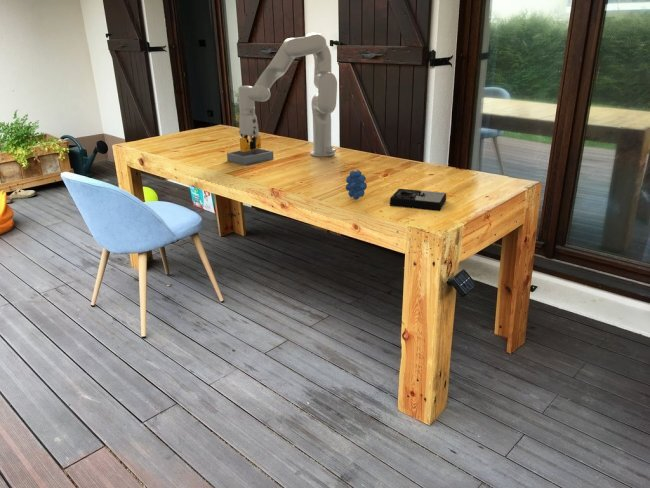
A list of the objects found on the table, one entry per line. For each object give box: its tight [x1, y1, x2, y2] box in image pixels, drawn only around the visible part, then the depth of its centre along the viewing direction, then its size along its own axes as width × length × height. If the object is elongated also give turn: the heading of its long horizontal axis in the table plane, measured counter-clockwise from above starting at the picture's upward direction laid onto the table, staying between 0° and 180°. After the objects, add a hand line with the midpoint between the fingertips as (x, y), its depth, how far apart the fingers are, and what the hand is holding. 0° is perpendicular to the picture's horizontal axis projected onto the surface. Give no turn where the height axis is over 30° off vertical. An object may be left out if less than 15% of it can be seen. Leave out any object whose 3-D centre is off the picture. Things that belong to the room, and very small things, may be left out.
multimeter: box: [389, 188, 447, 212], centre depth 202 cm, size 13×19×5 cm
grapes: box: [345, 169, 368, 200], centre depth 207 cm, size 12×7×12 cm, turn 37°
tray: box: [226, 148, 274, 166], centre depth 271 cm, size 15×18×4 cm
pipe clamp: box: [239, 134, 262, 152], centre depth 268 cm, size 12×4×6 cm, turn 143°
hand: (249, 148), depth 269 cm, fingers closed on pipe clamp, 4 cm apart
